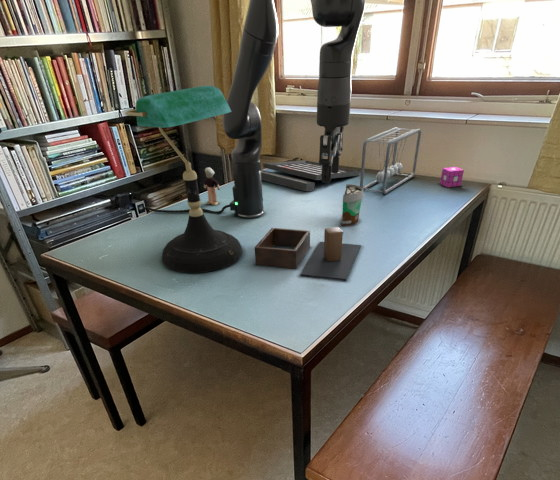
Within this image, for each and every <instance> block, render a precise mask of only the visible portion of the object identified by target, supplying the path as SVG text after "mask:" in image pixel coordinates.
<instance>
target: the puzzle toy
mask: <svg viewBox="0 0 560 480" xmlns="http://www.w3.org/2000/svg"><path fill="white" fill-rule="evenodd" d="M464 171H465V170H464V169H462V168H460V167H458V166H450V167H449V166H448V167H443V168H442V170H441V175H440V180H439V184H440V185H442V186H444V187H445V188H454V187H461V185H462V180H463V177H464V173H465V172H464Z"/></svg>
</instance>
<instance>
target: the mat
mask: <svg viewBox="0 0 560 480" xmlns="http://www.w3.org/2000/svg"><path fill="white" fill-rule="evenodd" d="M361 247H362V245H361V244H353V243H342V257H341V260H338V261H331V262H328V261H327V260H326V259H325V257H324V241H320V242H319V243H318V244H317V246H316V248H315V250H314V251H313V253H312V255H311V257H310V258H309V260H308V261H307V263H306V264H305V266H304V268H303V269H302V271H301V272H300V275H299V276H300V277H308V278H315V279H316V278H317V279H325V280H326V279H327V280H335V281H344V282H347V280H348V277H349V275H350V273H351V270H352V268H353V265H354V263H355V261H356V258H357V256H358V254H359V251H360V249H361Z"/></svg>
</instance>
